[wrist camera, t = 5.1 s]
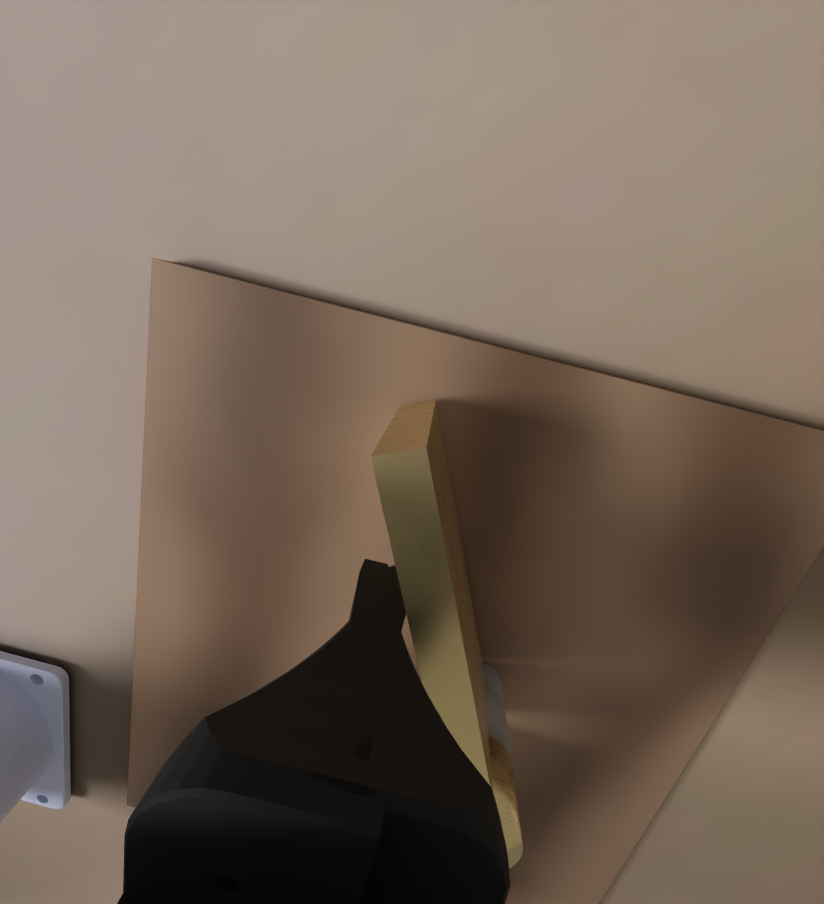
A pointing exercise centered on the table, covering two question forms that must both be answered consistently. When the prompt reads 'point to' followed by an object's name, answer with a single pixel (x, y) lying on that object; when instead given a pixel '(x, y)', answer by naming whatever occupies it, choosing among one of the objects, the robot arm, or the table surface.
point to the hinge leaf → (440, 594)
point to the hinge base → (483, 542)
